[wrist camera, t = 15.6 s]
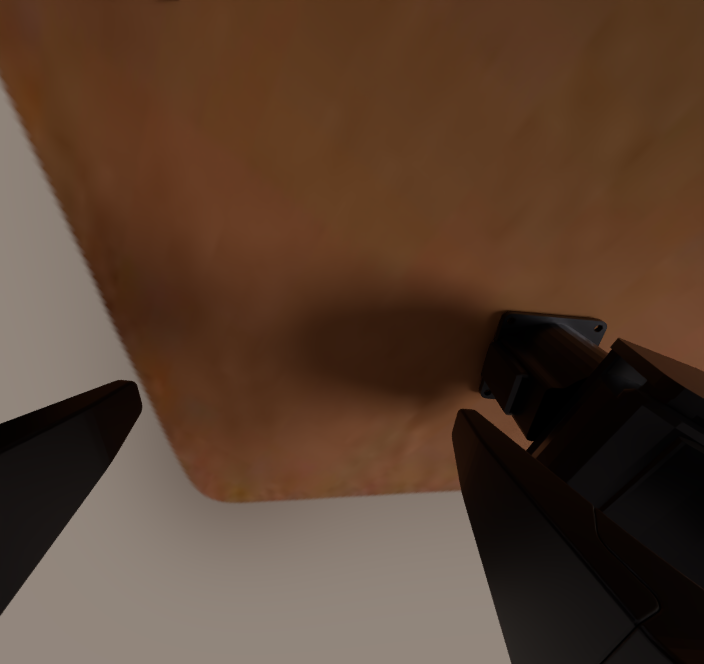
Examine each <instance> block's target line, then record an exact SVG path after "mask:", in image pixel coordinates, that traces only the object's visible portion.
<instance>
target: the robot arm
mask: <svg viewBox="0 0 704 664" xmlns="http://www.w3.org/2000/svg"><path fill="white" fill-rule="evenodd" d="M511 317H513V319H512V321H510V322H507V320H508V319H509V318H511ZM597 325H598V327H597V328H596V329H594V328H595V327H596V326H597ZM606 329H607V324H606V323H605V322H604V321H602V320H600V319H594V318H583V317H571V316H560V315H548V314H537V313H525V312H514V311H509V312H506V313H504V314H503V315H502V317H501V319H500V322H499V326H498V329H497V332H496V335H495V338H494V341H493V342H492V343H491V344H490V346H489V349H488V353H487V356H486V359H485V362H484V366H483V369H482V372H481V376H482V380H481V384H480V387H479V392H480V394H481V396H482V397H483V398H488V399H496V400H497V402H498V403H499V405H500V407H501V408H502V410H503V411H504V413H505V414H506V415H512V417H513V418H514V420H515V421H516V423H517V425H518V426H519V428H520V429H521V431H522V432H523V434H524V436H525V437H526V439H527V440H529V441H534V442H533V443H532V444H531V445H530V447H529V448H528V449H527V450H526V451H525V450H524V449H523V448H522V447H520V446H519V445H518V444H517V443H515V442H514V441H513V440H512V439H510V438H509V437H508V436H507V435H505V434H504V433H503V432H502V431H500V430H499V429H498V428H497V427H496V426H494V425H493V424H492V423H491V422H489V421H488V420H487V419H486V418H484V417H483V416H482V415H481V414H479V413H478V412H477V411H475V410H472V409H460V410H459V411H458V413H457V417H456V420H455V424H454V427H453V431H452V441H453V447H454V453H455V458H456V464H457V470H458V476H459V481H460V486H461V491H462V495H463V499H464V503H465V506H466V510H467V513H468V516H469V520H470V523H471V527H472V530H473V533H474V537H475V540H476V544H477V547H478V551H479V554H480V558H481V561H482V564H483V568H484V571H485V574H486V578H487V582H488V585H489V588H490V591H491V595H492V599H493V602H494V605H495V609H496V612H497V616H498V619H499V623H500V626H501V629H502V633H503V636H504V639H505V643H506V647H507V650H508V653H509V657H510V660H511V664H704V372H703V371H701V370H699V369H697V368H694V367H692V366H689V365H687V364H684V363H682V362H679V361H676V360H674V359H671V358H669V357H666V356H664V355H661V354H659V353H656V352H654V351H651V350H649V349H646V348H643V347H641V346H638V345H636V344H633V343H631V342H628V341H626V340H623V339H621V338H618V339H617V340H616V341H615V342H614V343H613V345H612V346H611V347H610V348H611V349H612V350H611V351H610V352H609V353H607V352H605V351H604V350H602V349H601V348H600V347H598V346H599V344H600V342H601V339H602V337H603V335H604V333H605V331H606ZM486 390H489V391H488V392H485V391H486ZM141 411H142V402H141V398H140V394H139V390H138V387H137V384H136V383H135V382H133V381H127V380H117V381H114V382H111V383H108V384H106V385H103V386H101V387H98V388H95V389H93V390H90V391H87V392H84V393H82V394H79V395H76V396H74V397H71V398H68V399H66V400H63V401H60V402H57V403H55V404H52V405H49V406H47V407H44V408H41V409H39V410H36V411H33V412H31V413H28V414H25V415H23V416H20V417H17V418H15V419H12V420H9V421H6V422H4V423H1V424H0V615H1V614H2V613H3V611H4V610H5V609H6V607H7V606H8V604H9V603H10V602H11V600H12V599H13V598H14V596H15V595H16V593H17V592H18V591H19V589H20V588H21V587H22V585H23V584H24V582H25V581H26V580H27V578H28V577H29V576H30V574H31V573H32V571H33V570H34V569H35V567H36V566H37V565H38V563H39V562H40V560H41V559H42V558H43V556H44V555H45V554H46V552H47V551H48V549H49V548H50V547H51V545H52V544H53V542H54V541H55V540H56V538H57V537H58V536H59V534H60V533H61V532H62V530H63V529H64V527H65V526H66V525H67V523H68V522H69V521H70V519H71V518H72V516H73V515H74V514H75V512H76V511H77V509H78V508H79V507H80V506H81V504H82V503H83V501H84V500H85V499H86V497H87V496H88V495H89V493H90V492H91V490H92V489H93V488H94V486H95V485H96V484H97V482H98V481H99V479H100V478H101V476H102V475H103V474H104V473H105V471H106V470H107V468H108V467H109V465H110V464H111V462H112V461H113V459H114V457H115V456H116V454H117V453H118V451H119V449H120V448H121V446H122V444H123V442H124V441H125V439H126V437H127V436H128V434H129V432H130V431H131V429H132V427H133V426H134V424H135V422H136V421H137V419H138V417H139V415H140V414H141Z"/></svg>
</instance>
